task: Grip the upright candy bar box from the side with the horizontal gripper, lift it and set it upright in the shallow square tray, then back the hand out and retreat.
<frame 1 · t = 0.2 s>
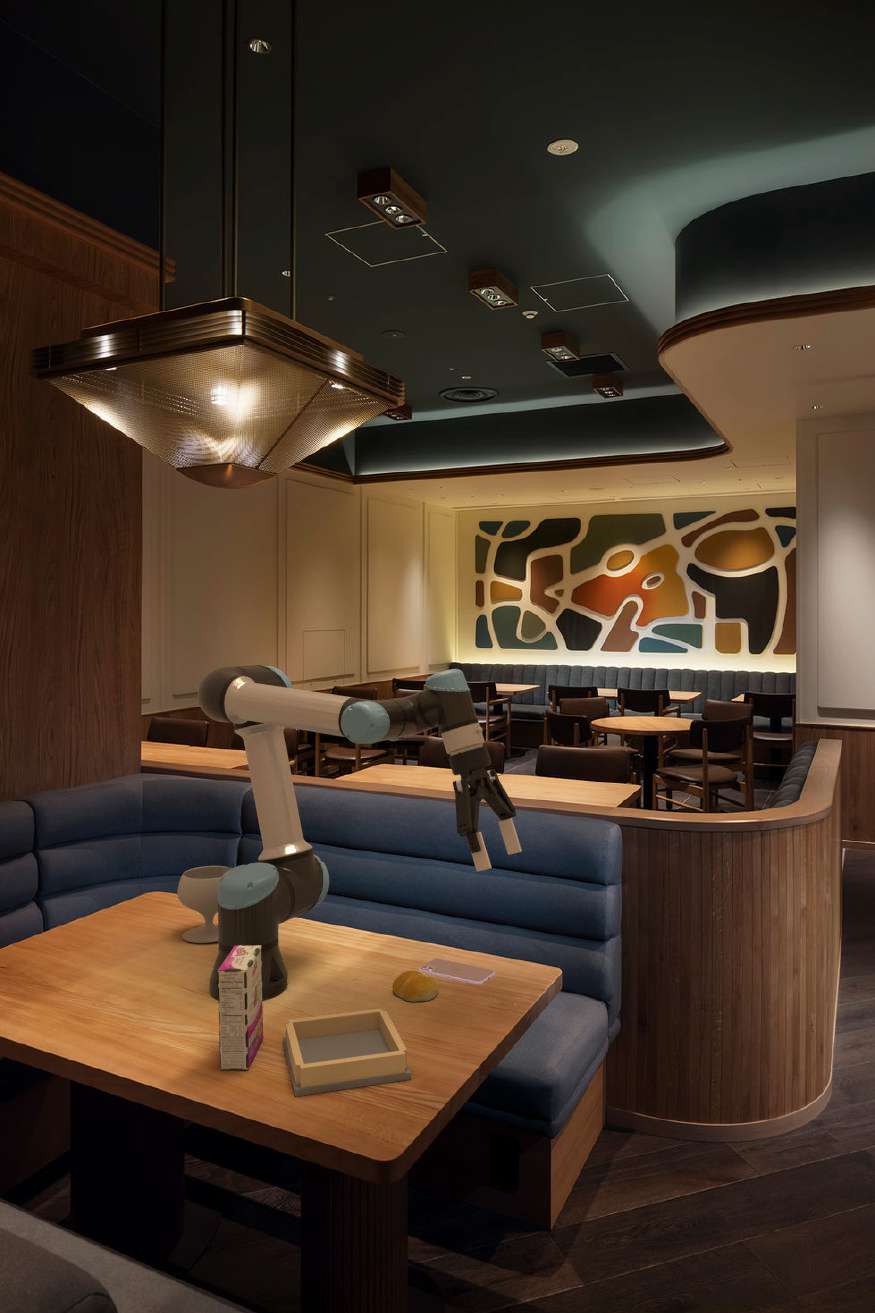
hand: (500, 861, 157), 28 cm above the table, tool tilted 20°, fingers open, 13 cm apart
candy bar box: (241, 1055, 141), on the table
bread roll: (415, 995, 166), on the table
mobile phone: (456, 974, 177), on the table
shallow square tray: (344, 1060, 139), on the table
chalice: (209, 936, 200), on the table
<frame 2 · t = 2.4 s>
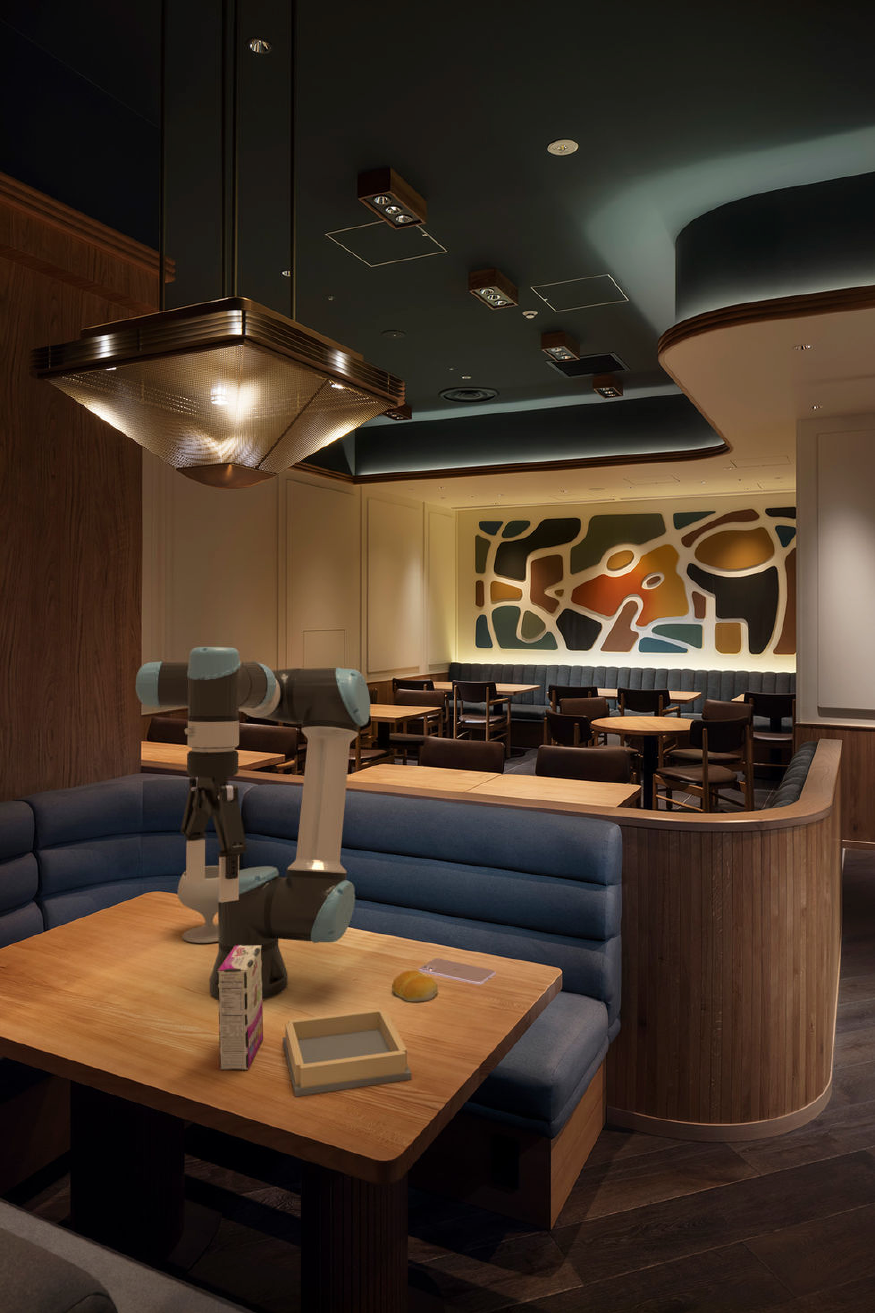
hand: (211, 891, 128), 31 cm above the table, tool pointing down, fingers open, 13 cm apart
nothing on the table moved.
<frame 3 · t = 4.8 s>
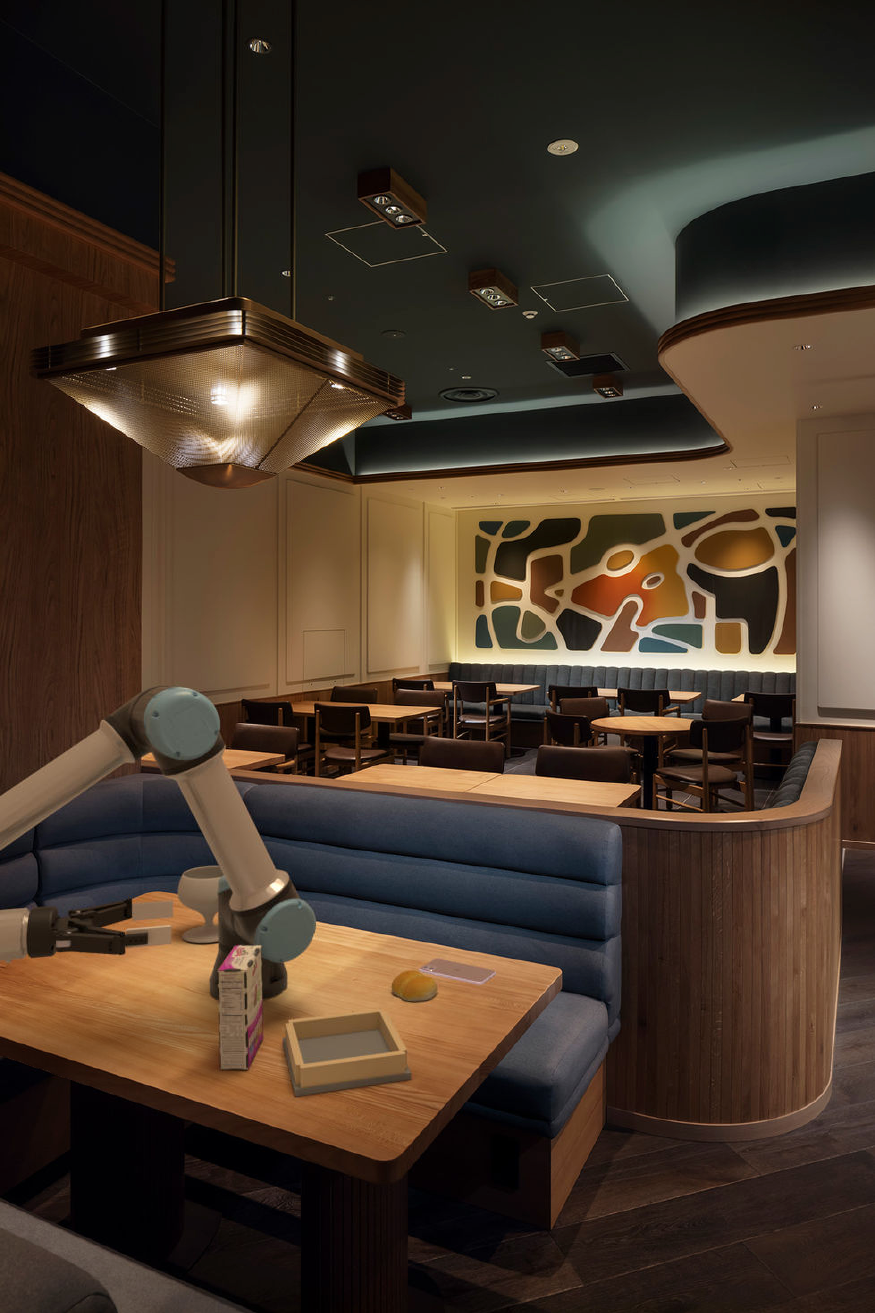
hand: (172, 921, 138), 23 cm above the table, tool horizontal, fingers open, 13 cm apart
nothing on the table moved.
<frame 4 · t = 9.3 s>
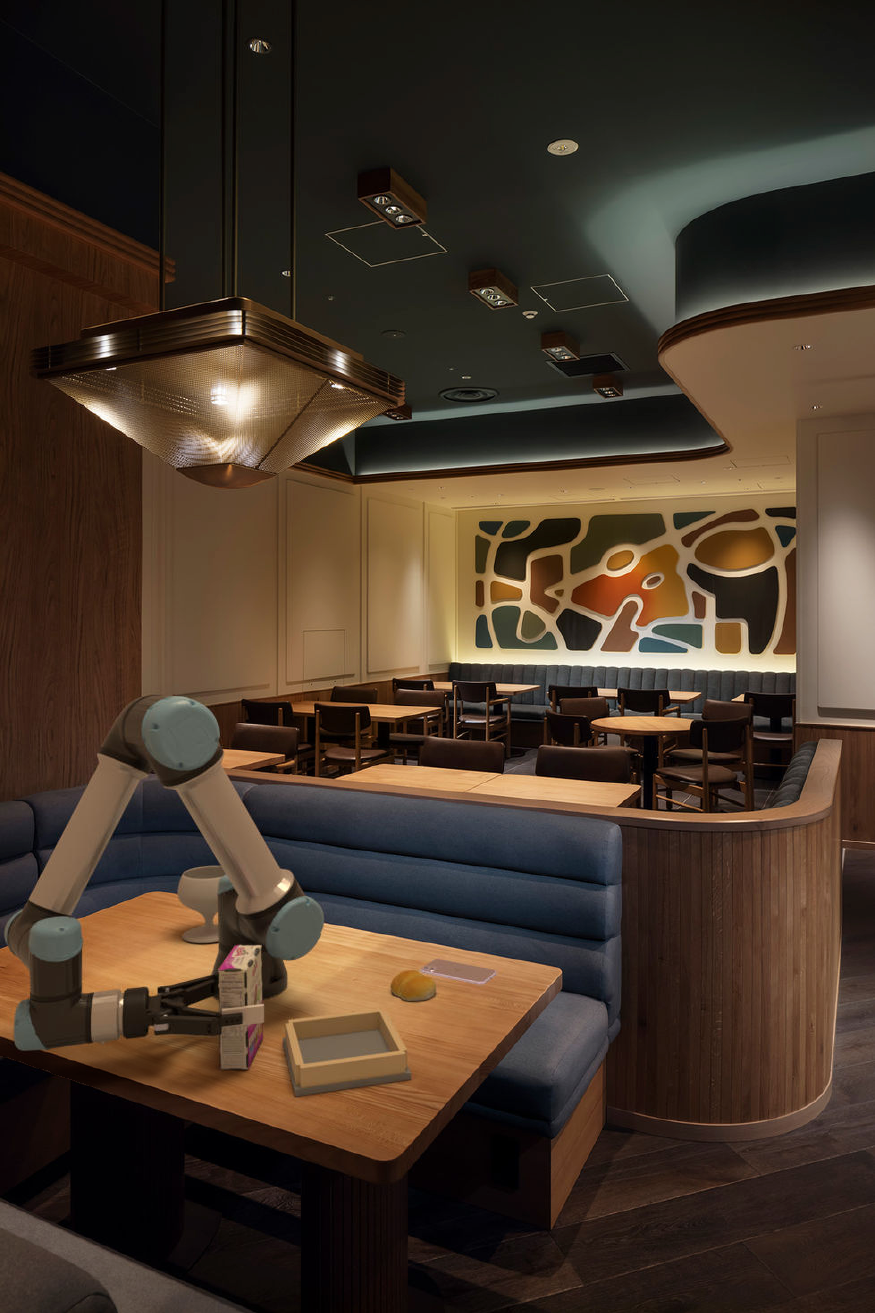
hand: (261, 997, 142), 9 cm above the table, tool horizontal, fingers closed on candy bar box, 12 cm apart
candy bar box: (241, 1055, 141), on the table, touching gripper
everything else where it was.
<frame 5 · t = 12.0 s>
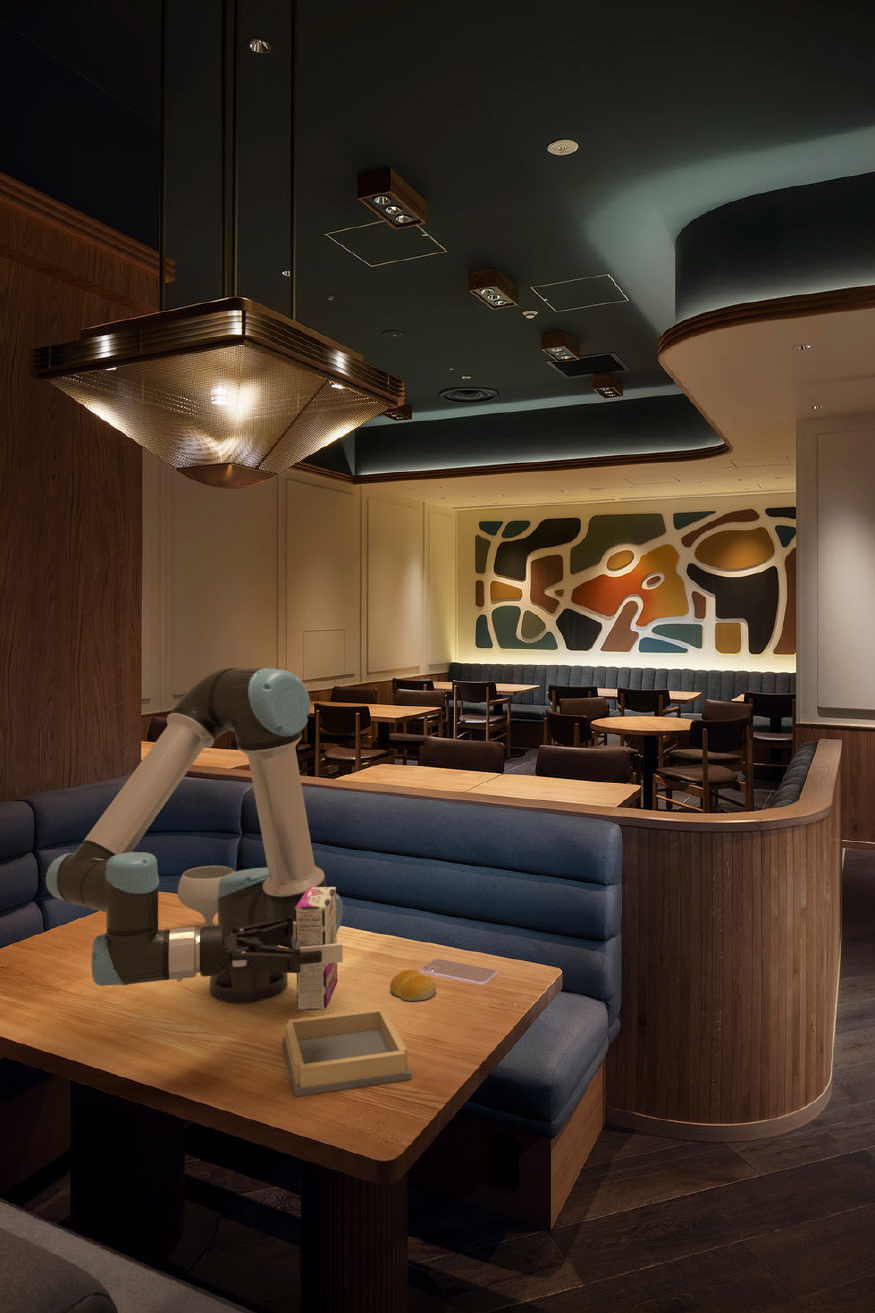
hand: (337, 939, 139), 20 cm above the table, tool horizontal, fingers closed on candy bar box, 12 cm apart
candy bar box: (317, 997, 138), point 11 cm above the table, touching gripper
everything else where it was.
when the fingers open (11 cm above the table, at t = 15.0 s): candy bar box drops 1 cm, resting on shallow square tray.
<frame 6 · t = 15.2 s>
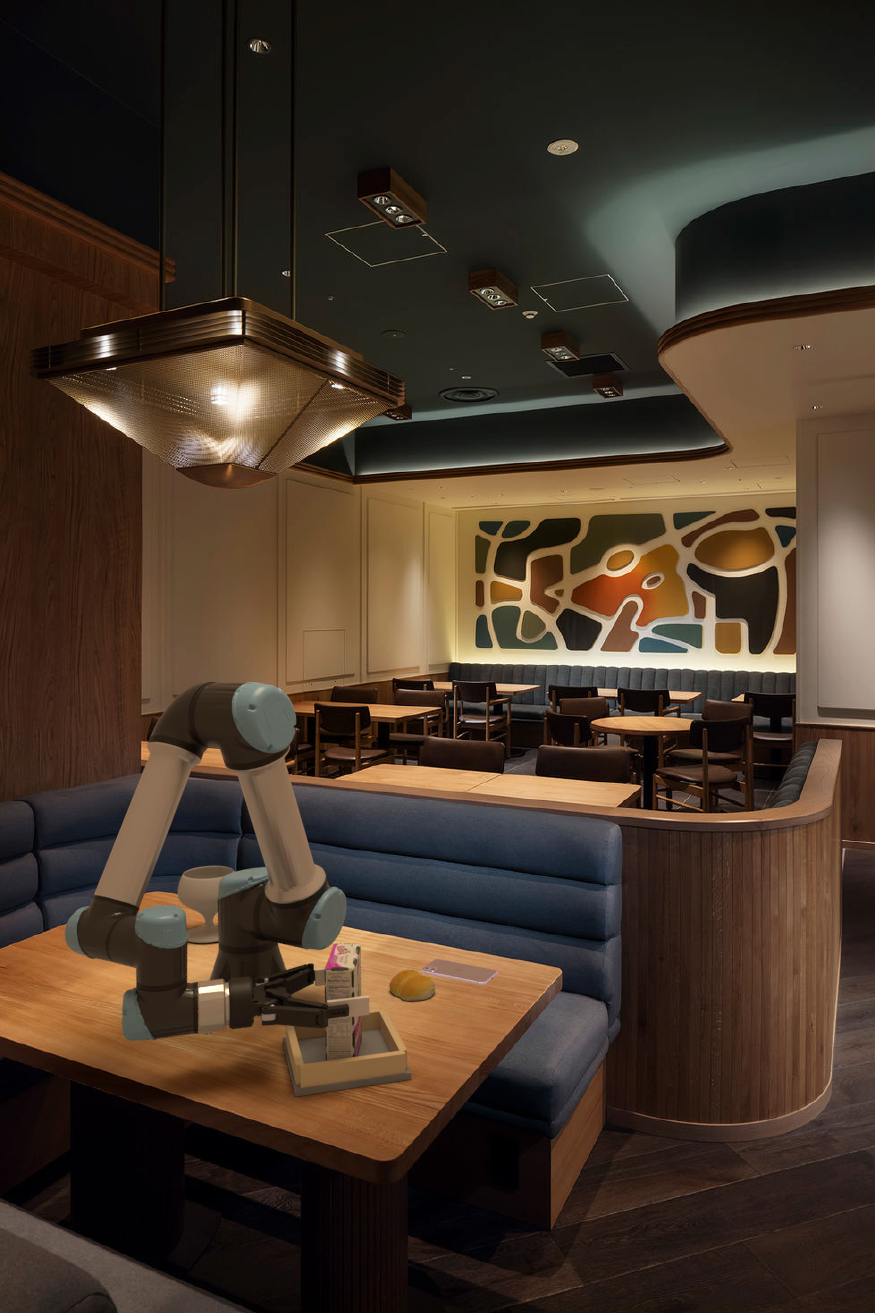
hand: (360, 988, 139), 11 cm above the table, tool horizontal, fingers open, 13 cm apart
candy bar box: (343, 1055, 139), point 1 cm above the table, touching shallow square tray
everything else where it was.
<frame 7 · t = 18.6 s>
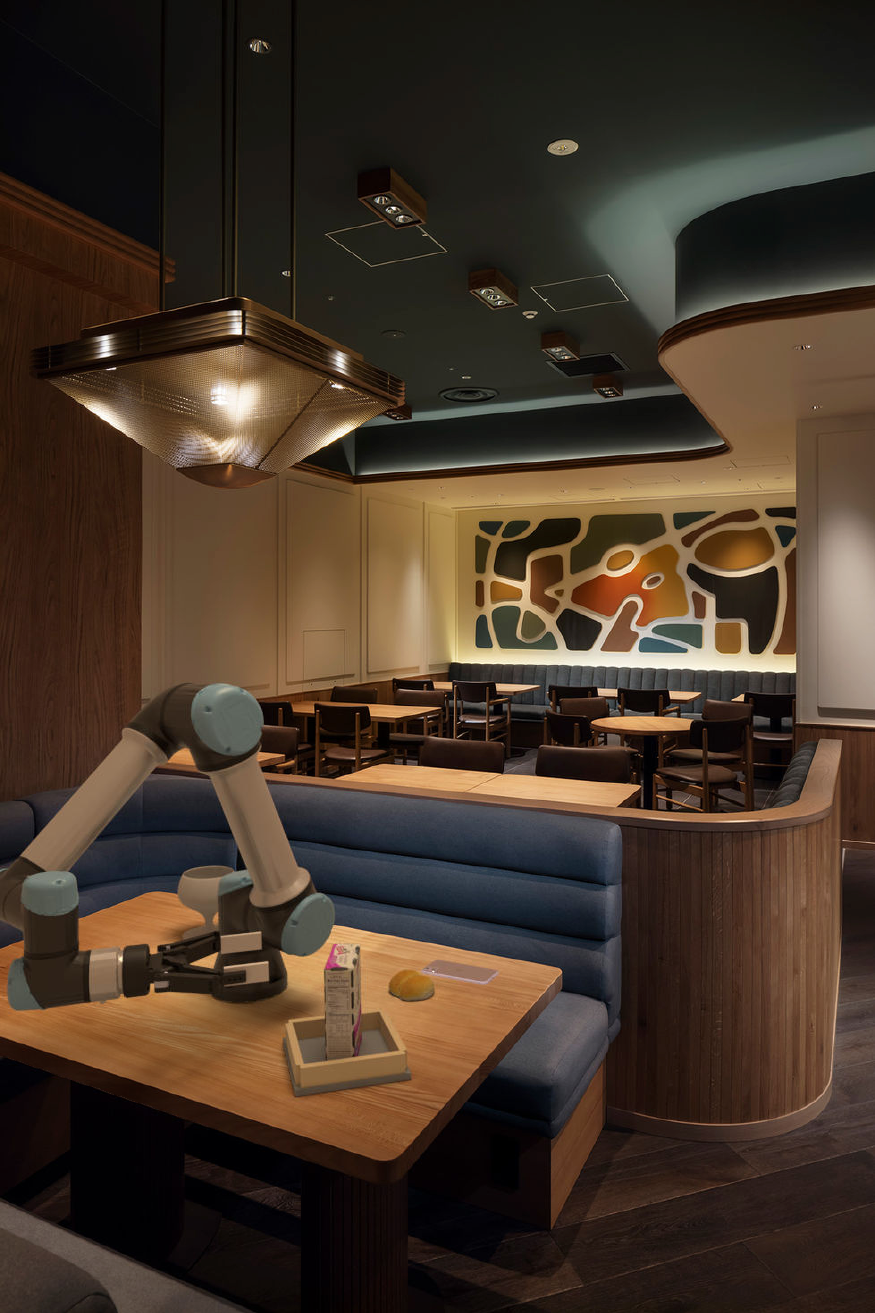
hand: (264, 954, 135), 19 cm above the table, tool horizontal, fingers open, 13 cm apart
nothing on the table moved.
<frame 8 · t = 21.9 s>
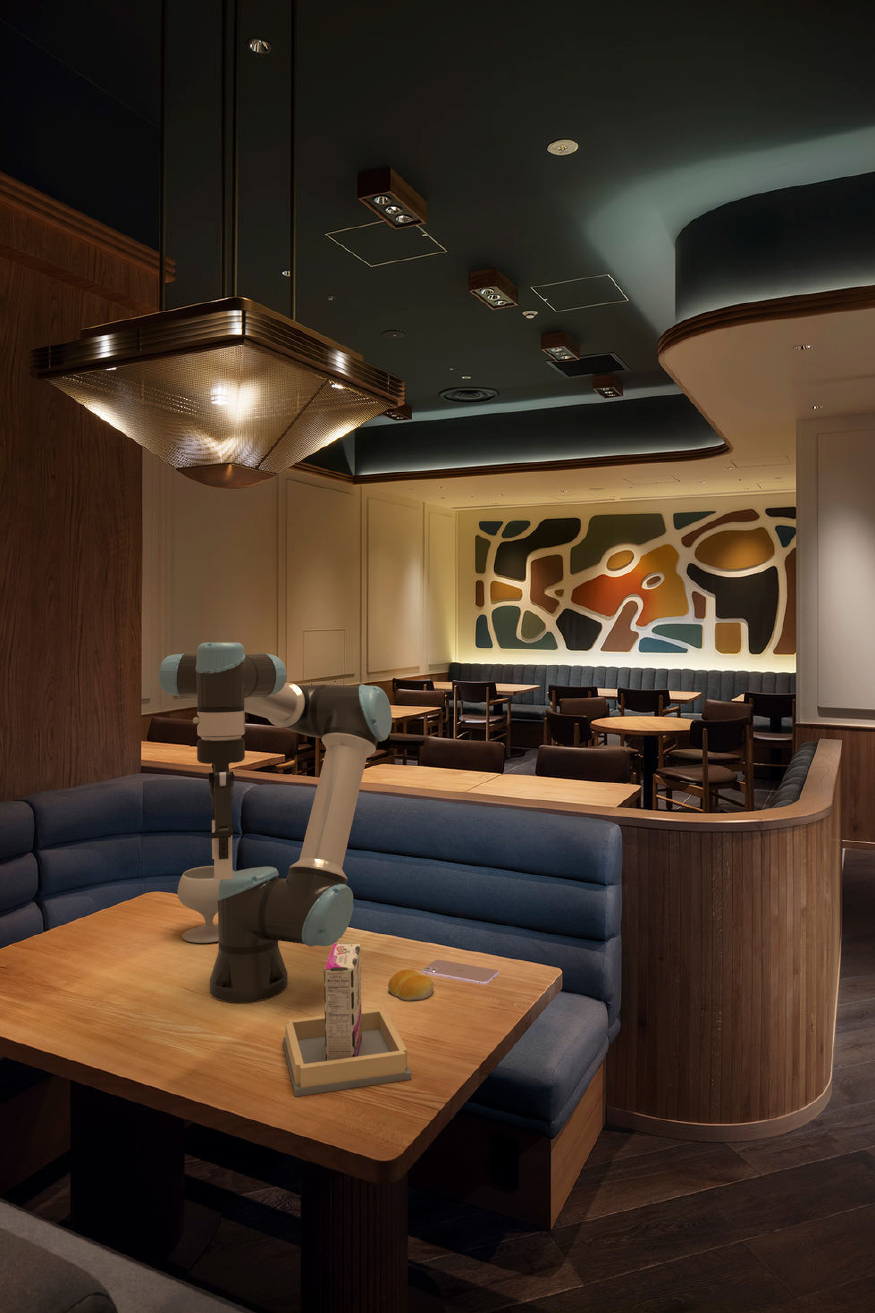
hand: (221, 868, 138), 32 cm above the table, tool pointing down, fingers open, 13 cm apart
at the end: candy bar box 0.1 cm off-centre on the shallow square tray, point 0.8 cm above the shallow square tray's base; candy bar box tilted 0°; the gripper is holding nothing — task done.
